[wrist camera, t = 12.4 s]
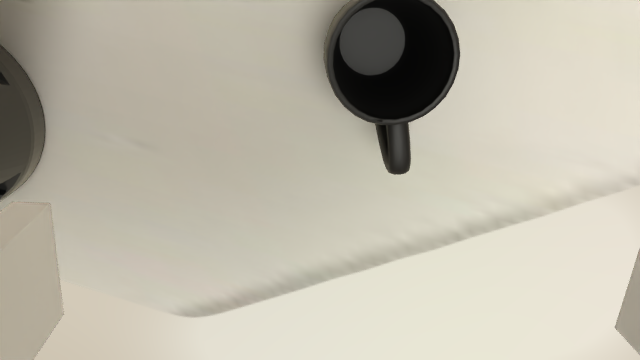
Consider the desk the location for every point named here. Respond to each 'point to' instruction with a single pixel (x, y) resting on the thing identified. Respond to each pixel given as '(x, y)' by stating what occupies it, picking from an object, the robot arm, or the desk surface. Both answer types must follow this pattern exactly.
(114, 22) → the desk surface
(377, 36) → the mug
